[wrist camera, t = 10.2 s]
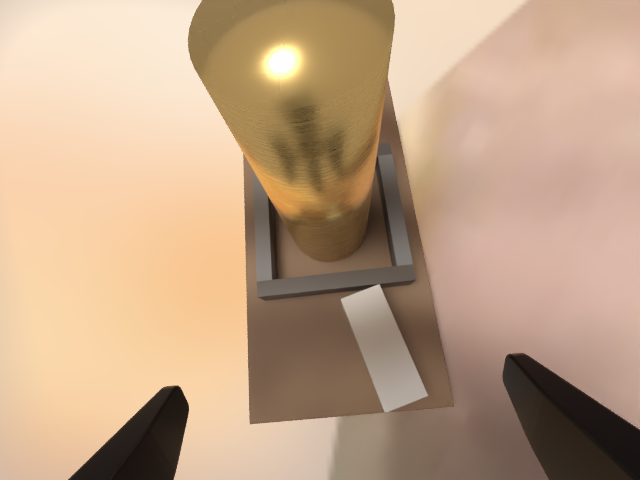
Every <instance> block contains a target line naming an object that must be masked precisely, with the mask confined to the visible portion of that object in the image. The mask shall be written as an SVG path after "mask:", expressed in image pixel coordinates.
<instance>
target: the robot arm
mask: <svg viewBox="0 0 640 480" xmlns="http://www.w3.org/2000/svg"><path fill="white" fill-rule="evenodd" d="M503 382H504V385H505V387H506V390H507V392H508V394H509V397H510V399H511V401H512V404H513V406H514V408H515V411H516V413H517V415H518V418H519V420H520V422H521V425H522V427H523V429H524V432H525V434H526V436H527V438H528V441H529V443H530V445H531V447H532V449H533V451H534V453H535V455H536V456H537V458H538V460H539V462H540V464H541V466H542V467H543V469H544V471H545V473H546V475H547V476H548V478H549V480H640V430H639V429H638V428H636V427H635V426H633V425H632V424H630V423H629V422H627V421H626V420H624V419H623V418H621V417H620V416H618V415H617V414H615V413H614V412H612V411H611V410H609V409H608V408H606V407H605V406H603V405H602V404H600V403H599V402H597V401H596V400H594V399H593V398H591V397H590V396H588V395H587V394H585V393H584V392H582V391H581V390H579V389H578V388H576V387H575V386H573V385H572V384H570V383H569V382H567V381H566V380H564V379H563V378H561V377H560V376H558V375H557V374H555V373H554V372H552V371H551V370H549V369H548V368H546V367H544V366H543V365H541V364H540V363H538V362H537V361H535V360H534V359H532V358H531V357H529V356H528V355H526V354H524V353H515V354H508V355H507V356H506V359H505V365H504V370H503ZM188 412H189V405H188V402H187V400H186V398H185V396H184V394H183V392H182V390H181V388H180V387H179V386H167V387H163V388H162V389H161V390H160V391H159V392H158V393H157V394H156V395H155V396H154V397H152V399H150V400H149V401H148V402H147V403H146V404H145V405H144V406H143V407H142V408H141V409H140V410H139V411H138V412H137V413H136V414H135V415H134V416H133V417H132V418H131V419H130V420H129V421H128V422H127V423H126V424H125V425H124V426H123V427H122V428H121V429H120V430H119V431H118V432H117V433H116V434H115V435H114V436H113V437H112V438H110V439H109V440H108V441H107V442H106V443H105V444H104V445H103V446H102V447H101V448H100V449H99V450H98V451H97V452H96V453H95V454H94V455H93V456H92V457H91V458H90V459H89V460H88V461H87V462H86V463H85V464H84V465H83V466H82V467H81V468H80V469H79V470H78V471H77V472H76V473H75V474H74V475H72V476H71V478H69V479H68V480H174V476H175V473H176V469H177V464H178V460H179V455H180V450H181V446H182V441H183V436H184V432H185V427H186V423H187V418H188Z"/></svg>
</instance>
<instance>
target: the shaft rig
mask: <svg viewBox="0 0 640 480" xmlns="http://www.w3.org/2000/svg"><path fill="white" fill-rule="evenodd" d="M243 156H244V196H245V197H244V198H245V240H246V281H247V282H246V284H247V325H248V368H249V411H250V424H256V423H268V422H280V421H292V420H303V419H315V418H326V417H338V416H349V415H361V414H372V413H383V412H385V413H387V412H395V411H406V410H418V409H429V408H441V407H452V406H454V404H453V399H452V394H451V389H450V384H449V379H448V374H447V369H446V364H445V359H444V354H443V349H442V344H441V340H440V335H439V330H438V325H437V320H436V315H435V310H434V305H433V300H432V295H431V290H430V285H429V280H428V275H427V270H426V265H425V260H424V255H423V250H422V245H421V240H420V235H419V230H418V226H417V221H416V216H415V211H414V206H413V201H412V196H411V191H410V186H409V181H408V176H407V171H406V166H405V161H404V156H403V151H402V146H401V141H400V136H399V131H398V126H397V121H396V117H395V112H394V107H393V102H392V97H391V92H390V87H389V82H388V77H387V84H386V91H385V98H384V106H383V113H382V120H381V128H380V135H379V142H378V150H377V157H376V164H375V172H374V179H373V186H372V194H371V201H370V208H369V216H368V223H367V230H366V235H365V238H364V240H363V242H362V244H361V245H360V247H359V248H358V249H357V250H356V251H355V252H354V253H353V254H352V255H350V256H349V257H347V258H345V259H343V260H339V261H335V262H321V261H317V260H314V259H312V258H310V257H308V256H307V255H305V254H304V253H303V252H302V251H301V250H300V249H299V248H298V247H297V245H296V243H295V242H294V240H293V238H292V236H291V235H290V233H289V231H288V229H287V228H286V226H285V224H284V223H283V221H282V219H281V217H280V216H279V214H278V212H277V210H276V209H275V207H274V205H273V203H272V202H271V200H270V198H269V197H268V195H267V193H266V191H265V190H264V188H263V186H262V184H261V183H260V181H259V179H258V177H257V176H256V174H255V172H254V171H253V169H252V167H251V165H250V164H249V162H248V160H247V158H246V157H245V155H244V153H243Z"/></svg>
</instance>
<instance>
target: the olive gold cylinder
mask: <svg viewBox="0 0 640 480" xmlns="http://www.w3.org/2000/svg"><path fill="white" fill-rule="evenodd" d="M394 20H395V14H394V7H393V3H392V0H202V2H201V3H200V5H199V6H198V8H197V10H196V12H195V14H194V16H193V19H192V22H191V25H190V29H189V37H188V48H189V53H190V58H191V61H192V63H193V66H194V68H195V70H196V71H197V73H198V75H199V77H200V79H201V80H202V82H203V84H204V86H205V87H206V89H207V91H208V92H209V94H210V96H211V98H212V99H213V101H214V103H215V105H216V106H217V108H218V110H219V112H220V113H221V115H222V117H223V119H224V120H225V122H226V124H227V125H228V127H229V129H230V131H231V132H232V134H233V136H234V138H235V139H236V141H237V143H238V144H239V146H240V148H241V150H242V151H243V153H244V155H245V157H246V158H247V160H248V162H249V164H250V165H251V167H252V169H253V171H254V172H255V174H256V176H257V177H258V179H259V181H260V183H261V184H262V186H263V188H264V190H265V191H266V193H267V195H268V197H269V198H270V200H271V202H272V203H273V205H274V207H275V209H276V210H277V212H278V214H279V216H280V217H281V219H282V221H283V223H284V224H285V226H286V228H287V229H288V231H289V233H290V235H291V236H292V238H293V240H294V242H295V243H296V245H297V247H298V248H299V249H300V250H301V251H302V252H303V253H304V254H305V255H307V256H308V257H310V258H312V259H314V260H317V261H321V262H335V261H339V260H343V259H345V258H347V257H349V256H350V255H352V254H353V253H354V252H355V251H356V250H357V249H358V248H359V247H360V245H361V244H362V242H363V240H364V238H365V235H366V230H367V223H368V216H369V208H370V201H371V194H372V186H373V179H374V172H375V164H376V157H377V150H378V142H379V135H380V128H381V120H382V113H383V106H384V98H385V91H386V84H387V76H388V69H389V62H390V54H391V47H392V40H393V32H394Z"/></svg>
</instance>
